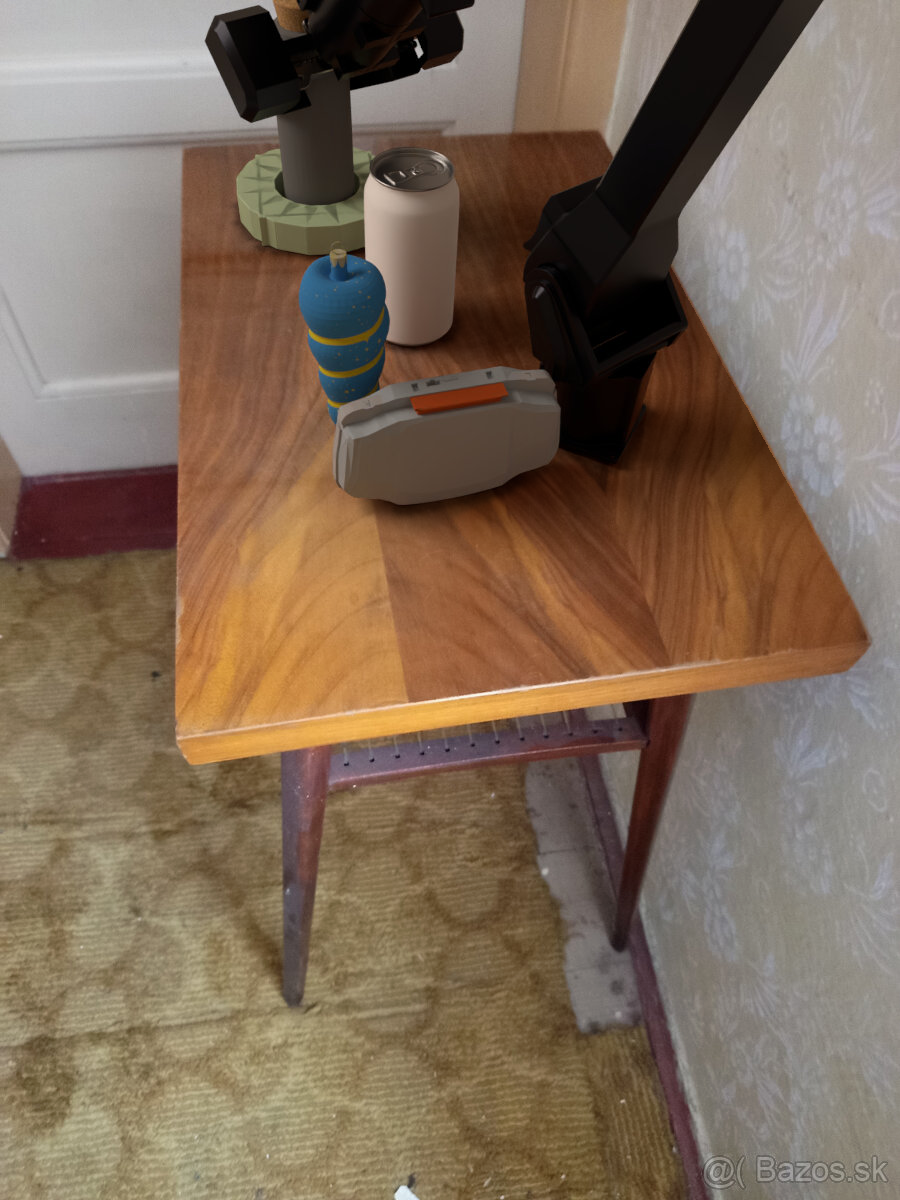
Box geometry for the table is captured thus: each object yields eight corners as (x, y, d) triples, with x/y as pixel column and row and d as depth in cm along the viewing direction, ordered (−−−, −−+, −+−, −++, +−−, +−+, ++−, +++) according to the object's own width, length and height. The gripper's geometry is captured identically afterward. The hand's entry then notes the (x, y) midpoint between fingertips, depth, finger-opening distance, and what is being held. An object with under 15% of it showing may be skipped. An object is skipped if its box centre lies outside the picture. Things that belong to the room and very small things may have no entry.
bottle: (359, 212, 76) (351, 9, 64) (288, 217, 75) (266, 12, 63) (349, 176, 79) (340, -23, 68) (281, 181, 78) (260, -20, 67)
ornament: (396, 472, 60) (395, 267, 48) (316, 479, 59) (296, 272, 47) (386, 419, 63) (383, 214, 51) (310, 425, 62) (290, 218, 50)
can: (469, 331, 69) (480, 177, 60) (396, 359, 67) (396, 203, 57) (422, 288, 72) (426, 134, 63) (351, 313, 70) (344, 158, 60)
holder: (387, 168, 83) (387, 140, 81) (406, 251, 75) (406, 222, 73) (239, 173, 81) (235, 145, 80) (242, 258, 74) (237, 229, 72)
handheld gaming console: (542, 450, 62) (559, 353, 55) (558, 480, 60) (577, 383, 54) (332, 488, 59) (324, 390, 52) (342, 521, 57) (335, 424, 51)
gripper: (446, -177, 60) (355, -34, 74) (191, -134, 52) (144, 16, 66) (514, -1, 63) (414, 105, 76) (281, 64, 55) (217, 169, 69)
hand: (303, 96), depth 72 cm, fingers closed on bottle, 6 cm apart
